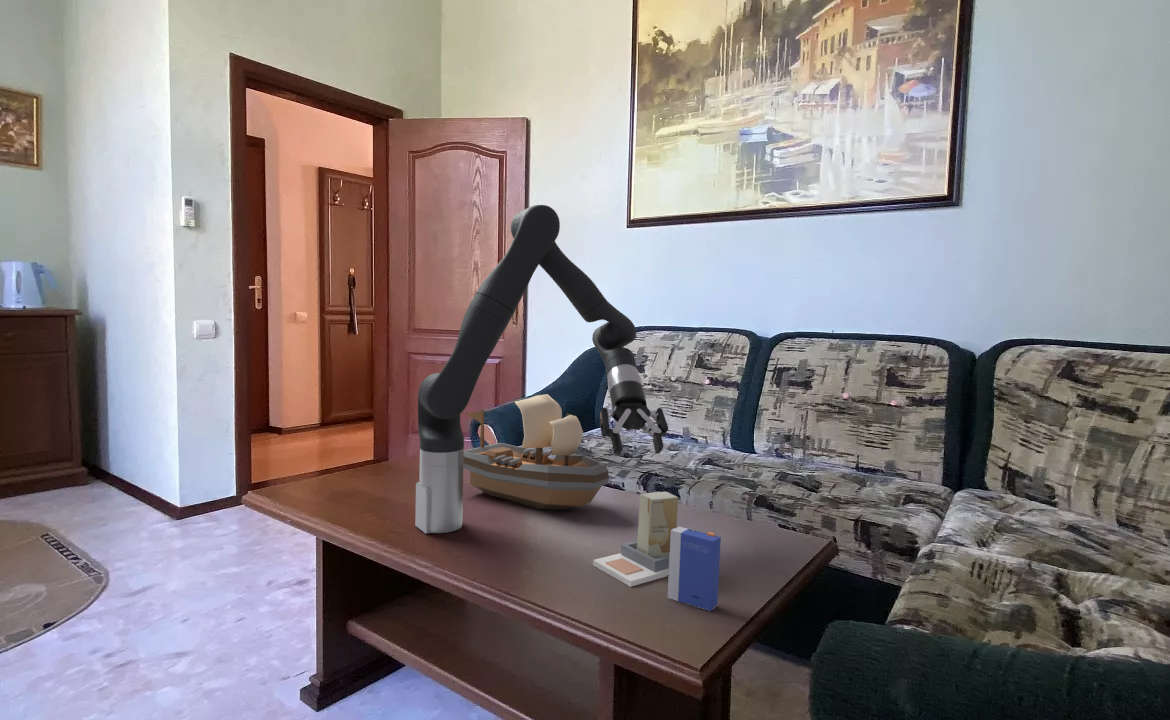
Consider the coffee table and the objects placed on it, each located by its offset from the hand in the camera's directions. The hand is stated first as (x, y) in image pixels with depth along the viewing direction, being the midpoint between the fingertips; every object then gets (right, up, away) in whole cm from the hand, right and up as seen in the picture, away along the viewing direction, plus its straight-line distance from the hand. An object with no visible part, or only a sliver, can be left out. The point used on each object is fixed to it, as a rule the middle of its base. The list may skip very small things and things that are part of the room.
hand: (639, 451), depth 130 cm
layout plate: (0, -20, -12) cm, 23 cm away
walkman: (+6, -21, -26) cm, 34 cm away
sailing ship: (-26, -16, +29) cm, 42 cm away
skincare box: (+2, -19, -10) cm, 22 cm away
